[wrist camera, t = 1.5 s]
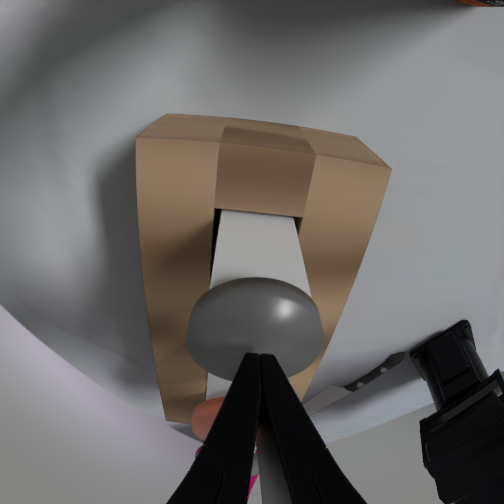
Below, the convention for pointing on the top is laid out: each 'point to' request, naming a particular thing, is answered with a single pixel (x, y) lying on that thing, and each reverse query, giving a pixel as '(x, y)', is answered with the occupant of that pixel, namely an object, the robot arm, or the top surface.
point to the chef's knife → (338, 392)
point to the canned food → (485, 3)
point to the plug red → (209, 406)
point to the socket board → (244, 199)
